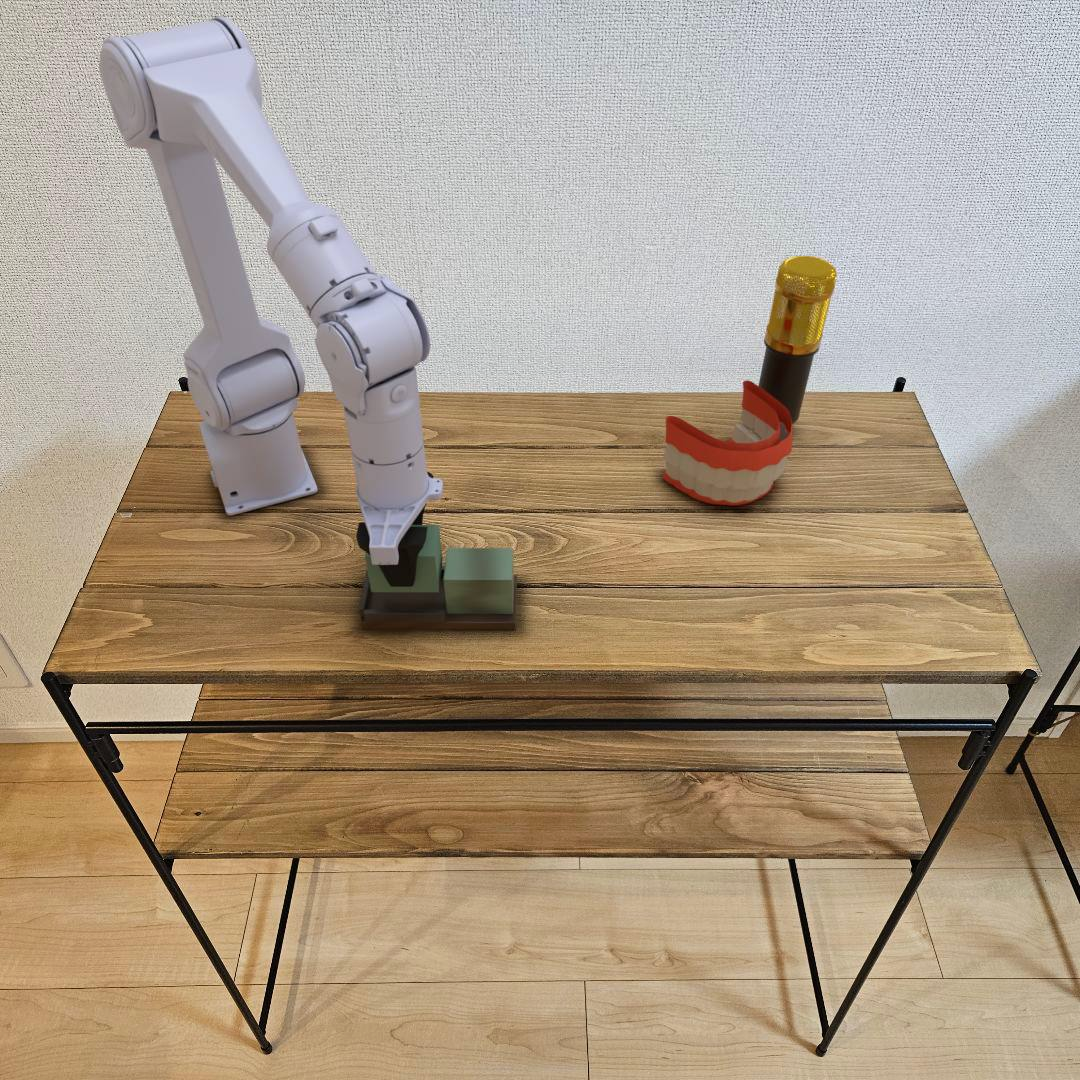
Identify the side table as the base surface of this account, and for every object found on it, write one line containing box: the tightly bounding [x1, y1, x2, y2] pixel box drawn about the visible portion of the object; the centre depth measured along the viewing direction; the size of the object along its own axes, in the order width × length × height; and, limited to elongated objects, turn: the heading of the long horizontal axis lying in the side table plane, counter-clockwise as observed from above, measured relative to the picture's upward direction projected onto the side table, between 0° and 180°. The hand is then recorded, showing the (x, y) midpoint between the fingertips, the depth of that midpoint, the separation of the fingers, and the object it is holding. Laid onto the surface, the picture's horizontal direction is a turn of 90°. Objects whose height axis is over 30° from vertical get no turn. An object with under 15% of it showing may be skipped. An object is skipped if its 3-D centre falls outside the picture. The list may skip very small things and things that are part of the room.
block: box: [364, 524, 443, 592], centre depth 78 cm, size 6×4×4 cm, turn 90°
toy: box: [662, 379, 794, 506], centre depth 93 cm, size 12×10×8 cm
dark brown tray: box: [358, 547, 518, 631], centre depth 81 cm, size 14×6×6 cm, turn 90°
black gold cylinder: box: [757, 255, 838, 426], centre depth 96 cm, size 6×13×20 cm, turn 94°
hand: (404, 565), depth 79 cm, fingers closed on block, 4 cm apart
